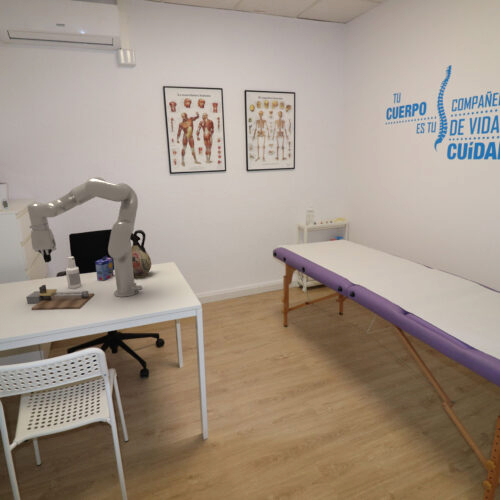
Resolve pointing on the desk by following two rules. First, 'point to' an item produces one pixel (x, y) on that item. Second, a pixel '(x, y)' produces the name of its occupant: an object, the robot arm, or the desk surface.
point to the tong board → (61, 304)
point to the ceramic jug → (139, 256)
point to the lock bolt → (46, 291)
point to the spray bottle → (73, 274)
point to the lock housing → (34, 298)
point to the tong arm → (67, 296)
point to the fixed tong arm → (68, 293)
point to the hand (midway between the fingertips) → (48, 261)
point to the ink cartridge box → (104, 268)
